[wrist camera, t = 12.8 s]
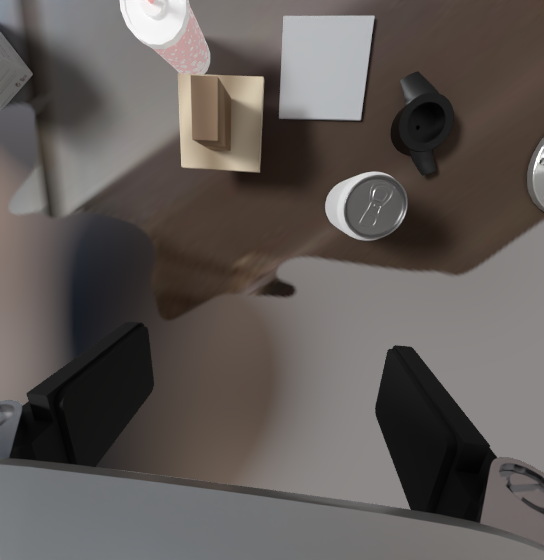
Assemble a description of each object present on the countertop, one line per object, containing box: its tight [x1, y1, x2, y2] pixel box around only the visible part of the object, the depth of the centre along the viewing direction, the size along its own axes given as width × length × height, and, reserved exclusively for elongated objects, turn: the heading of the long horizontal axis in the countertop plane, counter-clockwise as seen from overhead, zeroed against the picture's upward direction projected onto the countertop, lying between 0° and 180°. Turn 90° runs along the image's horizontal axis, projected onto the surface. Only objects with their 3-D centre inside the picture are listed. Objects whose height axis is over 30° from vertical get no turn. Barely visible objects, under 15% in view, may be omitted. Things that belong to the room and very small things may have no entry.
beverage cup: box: [120, 0, 210, 74], centre depth 24 cm, size 6×6×14 cm
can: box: [325, 172, 408, 241], centre depth 29 cm, size 6×6×12 cm
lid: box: [178, 73, 264, 173], centre depth 26 cm, size 9×9×6 cm
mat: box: [279, 16, 374, 121], centre depth 30 cm, size 10×10×1 cm
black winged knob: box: [391, 72, 454, 176], centre depth 30 cm, size 8×10×3 cm
